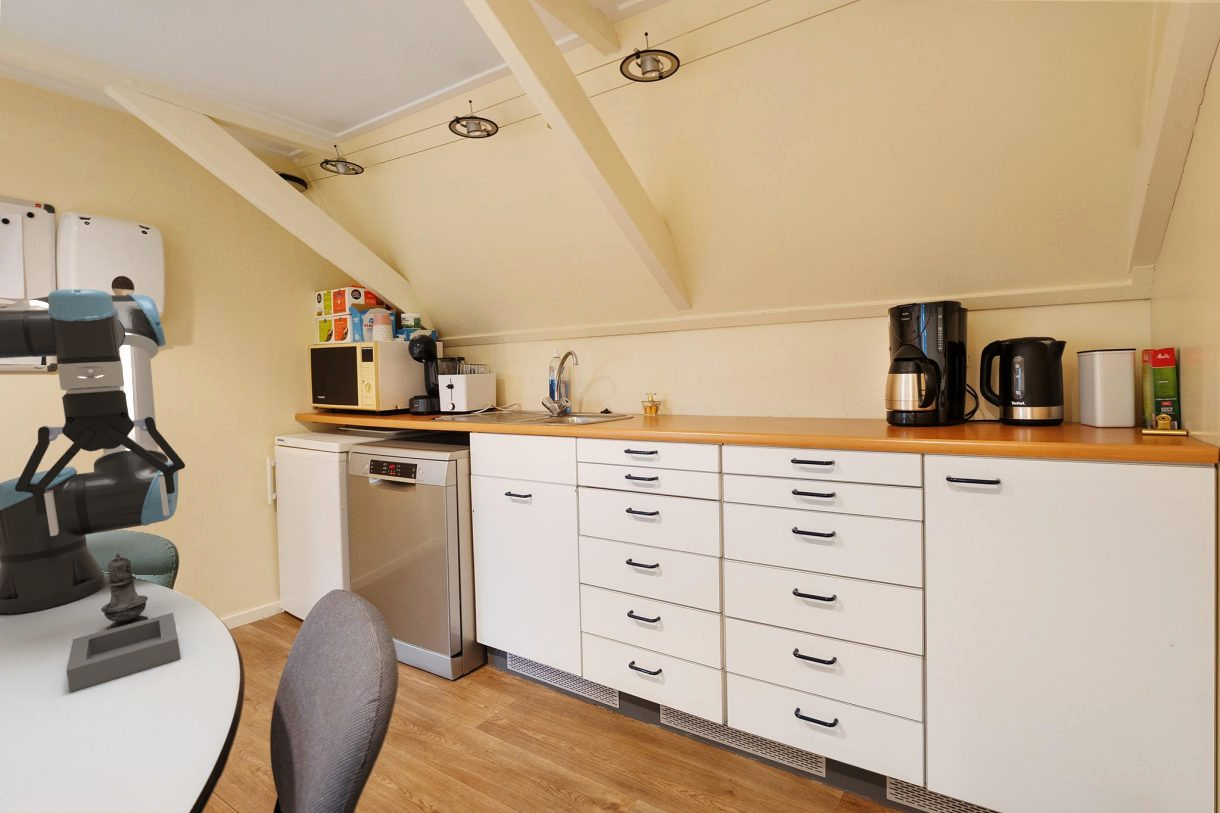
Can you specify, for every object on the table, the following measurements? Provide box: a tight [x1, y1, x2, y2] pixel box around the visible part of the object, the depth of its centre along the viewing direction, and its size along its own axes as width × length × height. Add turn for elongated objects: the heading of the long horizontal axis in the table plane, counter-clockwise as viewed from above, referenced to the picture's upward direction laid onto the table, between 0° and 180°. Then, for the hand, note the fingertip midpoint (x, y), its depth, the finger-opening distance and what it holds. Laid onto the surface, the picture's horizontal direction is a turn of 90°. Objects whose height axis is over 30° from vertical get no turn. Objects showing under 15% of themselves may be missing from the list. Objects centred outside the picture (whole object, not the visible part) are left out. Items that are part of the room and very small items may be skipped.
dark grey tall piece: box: [100, 552, 149, 630], centre depth 95 cm, size 6×6×12 cm
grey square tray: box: [66, 612, 181, 693], centre depth 84 cm, size 12×12×3 cm
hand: (113, 523), depth 93 cm, fingers open, 13 cm apart
